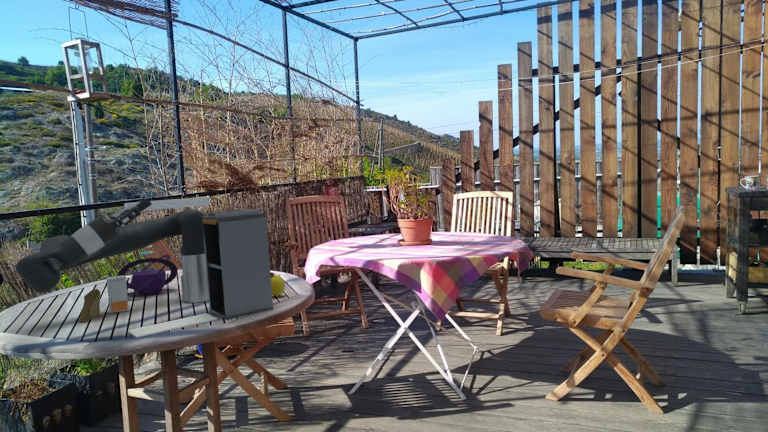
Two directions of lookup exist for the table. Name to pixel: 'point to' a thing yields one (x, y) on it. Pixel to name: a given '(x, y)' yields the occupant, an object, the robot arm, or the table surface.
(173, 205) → the panel
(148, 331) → the mat
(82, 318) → the rock
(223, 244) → the rack
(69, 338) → the table surface
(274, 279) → the lemon
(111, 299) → the skincare box
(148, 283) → the purple handbag
